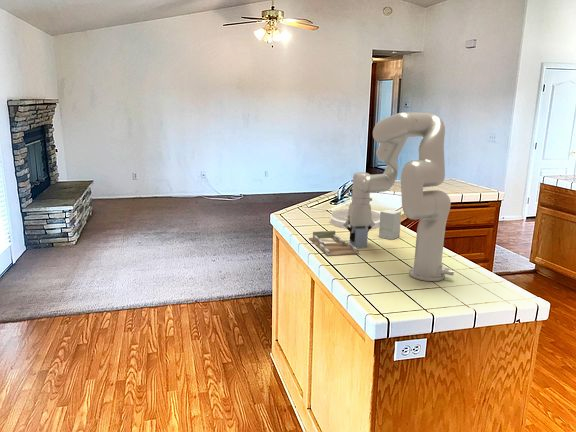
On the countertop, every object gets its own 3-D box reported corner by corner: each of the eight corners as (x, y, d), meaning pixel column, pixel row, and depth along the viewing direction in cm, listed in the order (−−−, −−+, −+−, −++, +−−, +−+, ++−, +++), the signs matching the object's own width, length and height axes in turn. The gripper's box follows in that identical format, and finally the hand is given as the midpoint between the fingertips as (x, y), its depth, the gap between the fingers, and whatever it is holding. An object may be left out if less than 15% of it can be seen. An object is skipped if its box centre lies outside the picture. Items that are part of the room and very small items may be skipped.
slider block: (366, 247, 200) (368, 229, 198) (356, 247, 199) (357, 230, 197) (359, 241, 208) (360, 224, 206) (349, 242, 206) (350, 225, 205)
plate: (392, 226, 238) (393, 216, 237) (354, 233, 223) (354, 222, 222) (357, 215, 260) (357, 206, 258) (320, 221, 245) (320, 211, 243)
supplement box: (399, 237, 217) (402, 211, 214) (391, 240, 211) (393, 213, 208) (386, 234, 221) (388, 208, 219) (378, 237, 216) (379, 211, 213)
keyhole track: (359, 254, 190) (359, 246, 189) (327, 256, 186) (327, 248, 186) (337, 237, 214) (337, 230, 213) (308, 238, 211) (309, 231, 210)
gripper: (374, 198, 204) (372, 237, 208) (339, 199, 200) (337, 239, 204) (382, 202, 197) (379, 242, 201) (345, 203, 193) (343, 244, 197)
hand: (358, 240), depth 203 cm, fingers closed on slider block, 5 cm apart
